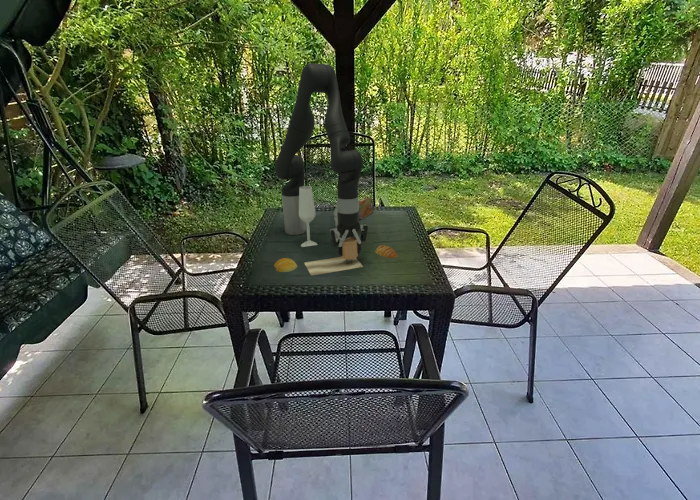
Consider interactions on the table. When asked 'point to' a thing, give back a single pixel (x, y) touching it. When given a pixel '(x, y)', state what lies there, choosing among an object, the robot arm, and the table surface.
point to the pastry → (386, 251)
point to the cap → (349, 248)
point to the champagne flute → (306, 210)
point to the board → (331, 265)
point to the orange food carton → (365, 207)
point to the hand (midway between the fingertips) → (349, 253)
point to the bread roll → (285, 265)
